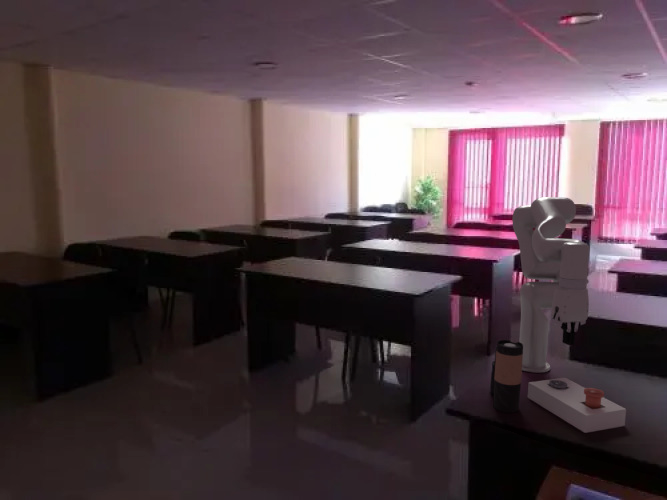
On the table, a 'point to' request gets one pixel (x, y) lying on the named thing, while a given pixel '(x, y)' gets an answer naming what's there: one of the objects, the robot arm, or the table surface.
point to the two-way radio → (493, 375)
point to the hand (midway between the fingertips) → (568, 343)
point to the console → (576, 406)
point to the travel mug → (508, 375)
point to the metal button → (558, 384)
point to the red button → (593, 397)
